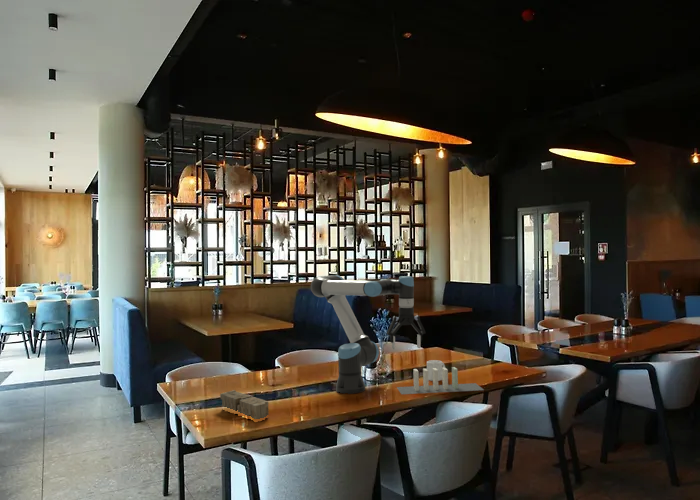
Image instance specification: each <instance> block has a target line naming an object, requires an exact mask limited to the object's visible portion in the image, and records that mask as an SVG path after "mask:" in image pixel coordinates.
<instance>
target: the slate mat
mask: <svg viewBox="0 0 700 500" xmlns="http://www.w3.org/2000/svg"><path fill="white" fill-rule="evenodd" d="M396 388H397V390H398V392H399V393H400V395H417V394H434V393H455V392H473V391H474V392H475V391H484V390H485V389H484V388H482V387H481V386H480V385H479V384H477V383H476V382H475V383H474V382H472V383H458V389H454V388H453V387H452V383H451V384H448V389H447V390H445V389H444V388H443V384H438V390H435V389H434V388H433V384H432V385H430V384H429V390H428V391H426V390H425V389H424V388H423V385H419V391H415V389H414V385H412V386H396Z"/></svg>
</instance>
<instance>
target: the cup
mask: <svg viewBox="0 0 700 500" xmlns="http://www.w3.org/2000/svg"><path fill="white" fill-rule="evenodd" d="M432 368H436V369H437V370H438V382H440V381H442V368H446V365H445V363H444V362H443V361H442V360H437V359H430V360H428V361H427V360H426V369H427V370H428V381H429V382H430V381H431V382H433V369H432Z"/></svg>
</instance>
